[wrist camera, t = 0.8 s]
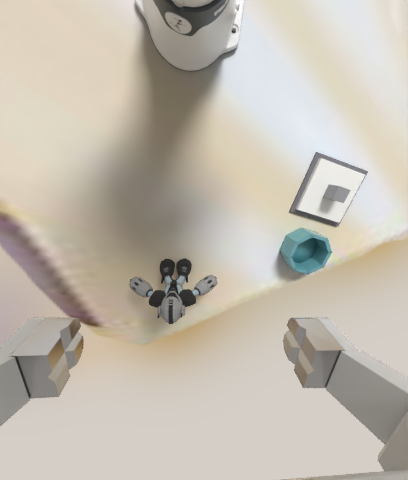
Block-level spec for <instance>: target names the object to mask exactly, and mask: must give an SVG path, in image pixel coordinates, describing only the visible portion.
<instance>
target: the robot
mask: <svg viewBox="0 0 408 480" xmlns="http://www.w3.org/2000/svg"><path fill="white" fill-rule="evenodd" d="M174 268H175V263H174V262H173V261H172V260H169V259H165V260H163V261H162V262H161V264H160V271H161V275H162V280H161V283H163V281H164V280H165V284H166V286H165V290H164V291H161V290H157V291H155V292H153V289H152V287H151V285H150V284H149V283H147V282H146V281H145V280H143V279H142V278H139V277H134V278H133V279H131V280H130V284H129V285H130V288H131V289H132V290H133V291H134V292H136V293H137V294H139V295H141V296H142V297H150V299H149V305H151V306H154V307H158V318H159V316H161V317H162V318H163V319H164V320H165V321H166V322H168V323H169V324H173V323H174V322H176V321H177V320H178V319H179V318H180V317H182V316H183V315H185V307H187V306H191V305H193V304H195V303H196V298H195V296H196V295H204V294H206V293H208V292H209V291H210V290H212V289H213V288H214V287H215V286H216V285H217V280H216V279H217V278H216V277H214V276H213V275H209V276H206V277H205V278H203V279H202V280H200V281H199V282H198V283H197V284H196V286H195V288H194V290H193V291H191V290H189V289H187V290H182V285H183V283H184V281H185V279H186V282H188V275H189V273H190V271H191V262H190V261H189V260H187V259H181V260H179V261H178V263H177V271H178V275H179V277H178V278H177V279H176V280H173V279H172V275H173V273H174Z"/></svg>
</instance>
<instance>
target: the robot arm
mask: <svg viewBox="0 0 408 480" xmlns="http://www.w3.org/2000/svg"><path fill="white" fill-rule="evenodd" d="M135 3H136V5H137V7H138V9H139V11H140V12H141V14H142V15H143V17H144V18H145V19H146V21H147V24H148V27H149V31H150V34H151V37H152V40H153V42H154V44H155V46H156V48H157V49H158V51H159V52H160V54H161V55H162V56H163V57H164V58H165V59H166V60H167V61H168V62H169V63H170V64H172V65H173V66H175V67H177V68H180V69H183V70H188V71H195V70H200V69H203V68H205V67H207V66H209V65H210V64H211V63H213V62H214V61H215V60H216V59H217V58H218V57H219V56H220V55H221V54H223V53H226V52H229V51H232V50H234V49H235V48H236V47H237V46H238V43H239V38H240V31H241V23H242V16H243V8H244V0H135ZM232 30H235V34H233V33H232ZM287 326H288V328H289V331H288V332H286V334H285V335H284V340H283V342H284V350H285V353H286V355H287V357H288V359H289V360H290V361H291V362H292V363H294V364H295V369H294V371H295V373H296V375H297V377H298V379H299V380H300V383H301V384H302V386H303V388H326V390H327V391H328V392H329V393H330V394H331V395H332V396H333V397H335V398H336V399H337V400H338V401H339V402H340V403H341V404H342V405H343V406H344V407H345V408H346V409H347V410H349V411H350V412H351V413H352V414H353V415H354V416H355V417H356V418H357V419H358V420H359V421H360V422H361V423H362V424H364V425H365V426H366V427H367V428H368V429H369V430H370V431H371V432H372V433H373V434H374V435H375V436H376V437H377V438H378V439H380V440H381V441H382V442H383V443H384V444H385V446H384V447H383V449H382V450H381V452H380V453H379V455H378V461H379V463H380V464H381V466H382V468H383V469H384V471H383V472H370V473H358V474H346V475H333V476H321V477H309V478H296V479H284V480H408V377H407V376H406V375H404V374H402V373H400V372H399V371H397V370H395V369H394V368H392V367H390V366H388V365H387V364H385V363H383V362H381V361H380V360H378V359H376V358H375V357H373V356H371V355H370V354H368V353H366V352H364V351H359V350H358V349H357V348H356V347H355V346H354V345H353V344H352V342H351V341H350V340H349V339H348V338H347V337H346V336H345V335H344V334H343V333H342V332H341V330H339V328H338V327H337V326H336V325H335V324H334V323H333V322H332V321H331V320H330V319H329V318H327V317H315V318H291V319H290V320H289V321H288V324H287ZM80 327H81V325H80V320H79V319H77V318H52V317H49V318H39V317H33V318H31V319H28V320H27V321H26V322H25V323H24V324H23V325H22V326H21V327H20V328H19V329H18V330H17V331H16V332H15V333H14V334H13V335H12V336H11V337H10V338H9V339H8V340H7V341H6V342H5V343H4V344H3V345H2V346H1V347H0V426H1V425H2V424H3V423H5V422H6V421H7V420H8V419H9V418H10V417H11V416H12V415H14V414H15V413H16V412H17V411H18V410H19V409H21V408H22V407H23V406H24V405H25V404H26V403H27V402H28V401H30V399H31V398H46V397H59V395H60V393H61V392H62V390H63V388H64V386H65V384H66V383H67V381H68V379H69V377H70V374H69V369H71V368H72V367H73V366H75V365H76V364H77V362H78V360H79V359H80V357H81V353H82V350H83V336H82V335H81V334H80V333H79V332H78V330H79V329H80Z"/></svg>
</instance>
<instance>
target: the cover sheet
mask: <svg viewBox="0 0 408 480" xmlns="http://www.w3.org/2000/svg"><path fill="white" fill-rule="evenodd" d="M364 177H365V174H362V173H360V172H357V171H354V170H352V169H349V168H346V167H344V166H341V165H338V164H336V163H333V162H330V161H328V160H325V159H322V158H319V159H318V161H317V163H316V165H315V168H314V170H313V172H312V174H311V176H310V179H309V181H308V183H307V185H306V187H305V189H304V192H303V194H302V196H301V198H300V200H299V202H298V205H297V207H296V209H297V210H300V211H303V212H307V213H310V214H313V215H316V216H319V217H322V218H325V219H329V220H332V221H335V222H338V223H340V221H341V219H342V217H343V216H344V214H345V212H346V210H347V208H348V206H349V205H350V203H351V201H352V199H353V197H354V195H355V194H356V192H357V190H358V188H359V186H360V184H361V182H362V181H363V179H364Z"/></svg>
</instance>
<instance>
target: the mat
mask: <svg viewBox="0 0 408 480" xmlns="http://www.w3.org/2000/svg"><path fill="white" fill-rule="evenodd" d="M319 158H322V159H325V160H328V161H330V162H333V163H336V164H338V165H341V166H344V167H346V168H349V169H352V170H354V171H357V172H360V173H362V174H365V176H366V174H367V173H368V171H365V170H362V169H360V168H357V167H355V166H352V165H349V164H347V163H344V162H341V161H339V160H336V159H334V158H331V157H328V156H326V155H323V154H320V153H318V152H316V154H315V156H314V158H313V160H312V162H311V165H310V167H309V169H308V171H307V173H306V176H305V178H304V180H303V182H302V184H301V187H300V189H299V191H298V193H297V196H296V198H295V200H294V202H293V204H292V207H291V209H290V212H293V213H297V214H300V215H303V216H306V217H309V218H313V219H316V220H319V221H322V222H325V223H328V224H332V225H335V226H339V224H340V223H338V222H335V221H332V220H329V219H325V218H322V217H319V216H316V215H313V214H310V213H307V212H303V211H300V210H297V209H296V207H297V205H298V202H299V200H300V198H301V196H302V194H303V192H304V189H305V187H306V185H307V183H308V181H309V179H310V176H311V174H312V172H313V170H314V168H315V165H316V163H317V161H318V159H319ZM364 178H365V177H364ZM363 180H364V179H363ZM362 182H363V181H362ZM362 182H361V184H362ZM361 184H360V185H361ZM359 187H360V186H359ZM358 189H359V188H358ZM357 191H358V190H357ZM356 193H357V192H356ZM355 195H356V194H355ZM355 195H354V196H355ZM353 198H354V197H353ZM352 200H353V199H352ZM351 202H352V201H351ZM350 204H351V203H350ZM349 206H350V205H349ZM349 206H348V207H349ZM347 209H348V208H347ZM346 211H347V210H346ZM345 213H346V212H345ZM344 215H345V214H344ZM342 218H343V217H342ZM341 220H342V219H341ZM340 222H341V221H340Z"/></svg>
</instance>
